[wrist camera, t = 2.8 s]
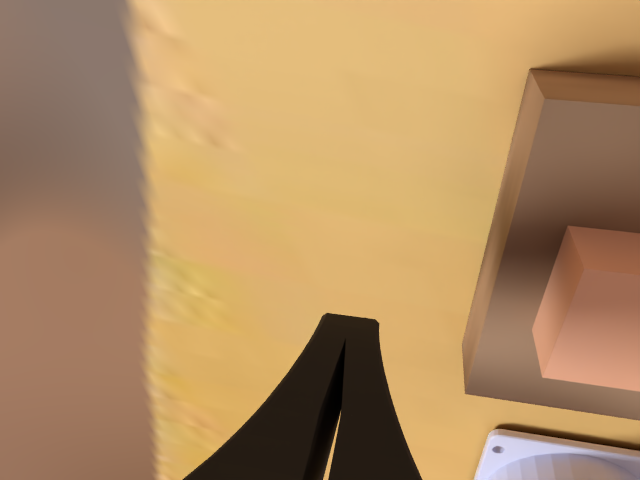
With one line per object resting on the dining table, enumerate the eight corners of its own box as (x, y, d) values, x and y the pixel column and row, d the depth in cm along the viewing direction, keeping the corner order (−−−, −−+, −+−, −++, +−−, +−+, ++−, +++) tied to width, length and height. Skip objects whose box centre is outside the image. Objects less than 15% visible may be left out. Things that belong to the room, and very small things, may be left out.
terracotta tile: (665, 347, 16) (690, 399, 15) (531, 329, 17) (542, 377, 15) (723, 242, 14) (761, 289, 12) (567, 225, 15) (584, 268, 13)
